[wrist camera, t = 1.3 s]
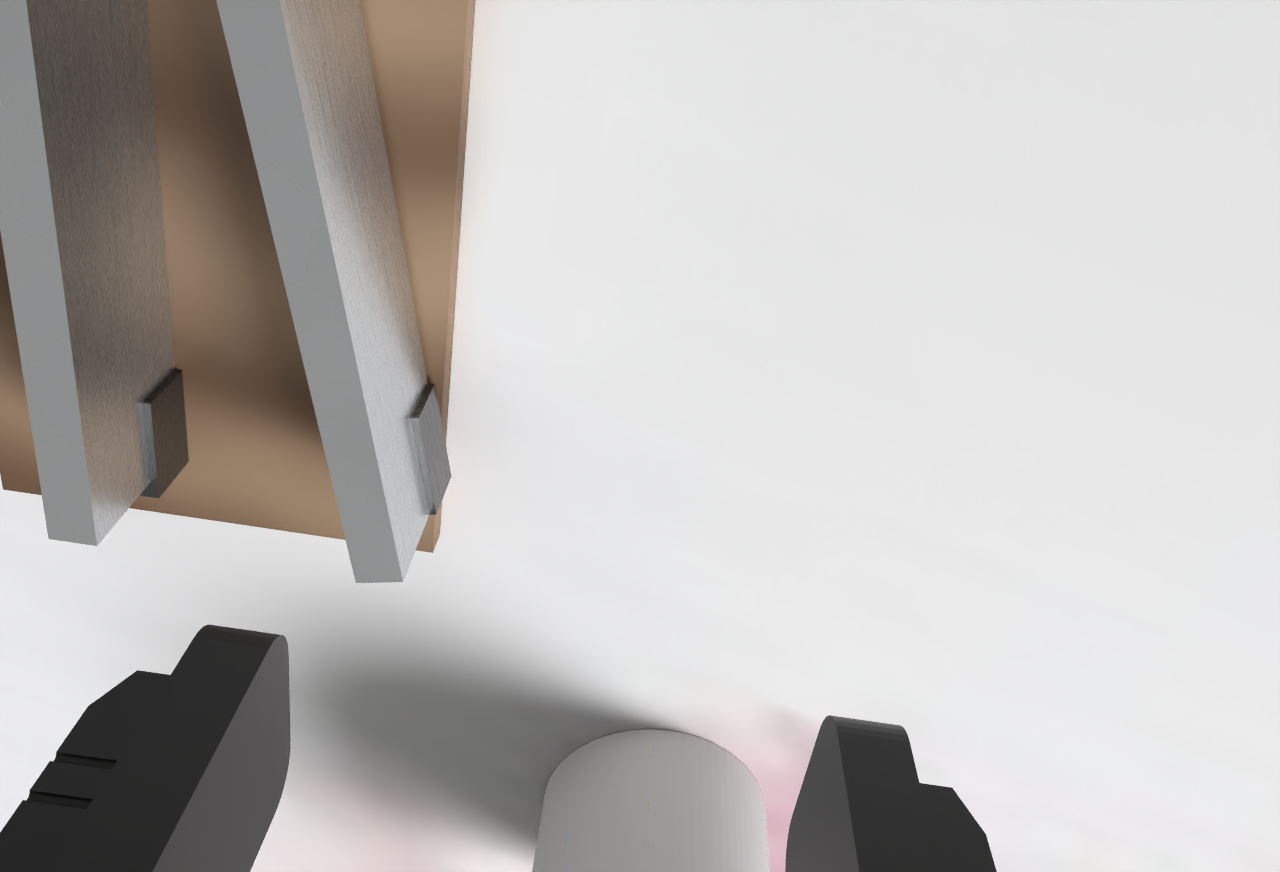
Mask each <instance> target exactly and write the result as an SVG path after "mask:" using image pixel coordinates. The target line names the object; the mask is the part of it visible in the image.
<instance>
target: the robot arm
mask: <svg viewBox="0 0 1280 872" xmlns="http://www.w3.org/2000/svg"><path fill="white" fill-rule="evenodd" d="M289 757H290V704H289V657H288V644H287V640H286V638H285V637H284V636H283V635H277V634H270V633H263V632H256V631H249V630H242V629H235V628H228V627H221V626H214V625H206V626H204V627H203V628H201V629H200V631H199V632H198V633H197V634H196V636H195V637H194V639H193V640H192V642H191V643H190V645H189V647H188V648H187V650H186V651H185V653H184V655H183V656H182V658H181V659H180V661H179V663H178V664H177V666H176V667H175V669H174V671H173V672H172V674H171V675H166V674H159V673H152V672H145V671H138V670H137V671H136V672H135V673H133V674H132V675H131V676H129V677H128V678H126V679H125V680H124V681H122V682H121V683H120V684H118V685H117V686H115V687H114V688H113V689H111V690H110V691H109V692H107V693H106V694H104V695H103V696H102V697H100V698H99V699H98V700H96V701H95V702H94V703H92V704H91V705H89V706H88V707H87V709H86V710H85V712H84V713H83V715H82V716H81V717H80V719H79V720H78V722H77V723H76V725H75V726H74V728H73V729H72V730H71V732H70V733H69V735H68V736H67V738H66V739H65V740H64V742H63V743H62V745H61V746H60V748H59V749H58V751H57V752H56V758H55V760H54V762H52V761H50V762H49V763H48V765H47V766H46V768H45V769H44V771H43V772H42V773H41V775H40V776H39V778H38V779H37V781H36V782H35V784H34V785H33V786H32V788H31V789H30V794H29V797H28V799H27V801H24V800H23V801H22V802H21V804H20V805H19V807H18V808H17V809H16V811H15V812H14V814H13V815H12V817H11V818H10V819H9V821H8V822H7V824H6V825H5V827H4V828H3V829H2V831H1V832H0V872H250V870H251V868H252V866H253V863H254V861H255V859H256V856H257V854H258V852H259V849H260V847H261V845H262V842H263V840H264V838H265V835H266V833H267V831H268V828H269V826H270V824H271V821H272V819H273V817H274V814H275V812H276V809H277V807H278V804H279V801H280V798H281V795H282V791H283V788H284V784H285V780H286V775H287V770H288V764H289ZM786 872H997V871H996V868H995V865H994V861H993V858H992V854H991V851H990V847H989V844H988V840H987V837H986V834H985V833H984V831H983V830H982V829H981V827H980V826H979V824H978V823H977V822H976V820H975V819H974V817H973V816H972V815H971V813H970V812H969V810H968V809H967V808H966V806H965V805H964V804H963V802H962V801H961V799H960V798H959V797H958V795H957V794H956V792H955V791H954V790H953V788H950V787H943V786H936V785H929V784H922V783H919V780H918V776H917V771H916V767H915V763H914V759H913V754H912V750H911V746H910V742H909V738H908V735H907V733H906V731H905V729H904V728H903V727H902V726H899V725H893V724H886V723H879V722H872V721H865V720H858V719H851V718H844V717H837V716H827V717H826V718H825V719H824V721H823V723H822V725H821V728H820V730H819V733H818V736H817V740H816V743H815V746H814V749H813V752H812V755H811V759H810V762H809V765H808V768H807V771H806V774H805V777H804V781H803V784H802V787H801V790H800V793H799V796H798V799H797V803H796V806H795V809H794V812H793V815H792V819H791V823H790V828H789V834H788V841H787V850H786Z"/></svg>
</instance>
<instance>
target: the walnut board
mask: <svg viewBox="0 0 1280 872" xmlns="http://www.w3.org/2000/svg"><path fill="white" fill-rule="evenodd" d="M359 1H360V6H361V12H362V17H363V23H364V29H365V34H366V40H367V46H368V51H369V57H370V62H371V68H372V74H373V79H374V85H375V90H376V96H377V102H378V107H379V113H380V118H381V124H382V130H383V135H384V141H385V146H386V152H387V158H388V163H389V169H390V175H391V180H392V186H393V191H394V197H395V203H396V208H397V214H398V219H399V225H400V231H401V236H402V242H403V247H404V253H405V259H406V264H407V270H408V275H409V281H410V287H411V292H412V298H413V304H414V309H415V315H416V320H417V326H418V332H419V337H420V343H421V348H422V354H423V360H424V365H425V371H426V376H427V382H428V384H435V387H436V392H437V398H438V404H439V410H440V415H441V421H442V427H443V433H444V438H445V444H446V432H447V417H448V402H449V387H450V372H451V357H452V342H453V327H454V312H455V297H456V282H457V267H458V252H459V237H460V222H461V207H462V192H463V177H464V162H465V147H466V132H467V117H468V102H469V87H470V72H471V56H472V41H473V26H474V11H475V0H359ZM147 13H148V25H149V38H150V51H151V64H152V77H153V90H154V103H155V116H156V129H157V142H158V155H159V168H160V181H161V194H162V207H163V220H164V233H165V246H166V259H167V272H168V285H169V297H170V310H171V323H172V336H173V349H174V362H175V370H181V371H182V374H183V388H184V401H185V415H186V429H187V442H188V456H189V462H188V463H187V464H186V466H185V467H184V468H183V469H182V471H181V472H180V473H179V474H178V476H177V477H176V478H175V479H174V481H173V482H172V483H171V484H170V486H169V487H168V488H167V489H166V490H165V492H164V493H163V494H162V495H161V497H160V498H153V497H146V496H138V498H137V499H136V500H135V501H134V502H133V504H132V505H131V506H130V507H129V508H133V509H140V510H147V511H154V512H160V513H167V514H174V515H181V516H188V517H194V518H201V519H208V520H215V521H222V522H228V523H235V524H242V525H249V526H255V527H262V528H269V529H276V530H283V531H289V532H296V533H303V534H310V535H317V536H323V537H330V538H337V539H344V540H346V539H345V535H344V531H343V527H342V523H341V518H340V514H339V510H338V506H337V502H336V498H335V493H334V489H333V485H332V481H331V477H330V473H329V468H328V464H327V460H326V456H325V452H324V448H323V443H322V439H321V435H320V431H319V427H318V423H317V418H316V414H315V410H314V406H313V402H312V398H311V393H310V389H309V385H308V381H307V377H306V372H305V368H304V364H303V360H302V356H301V352H300V347H299V343H298V339H297V335H296V331H295V327H294V322H293V318H292V314H291V310H290V306H289V302H288V297H287V293H286V289H285V285H284V281H283V277H282V272H281V268H280V264H279V260H278V256H277V252H276V247H275V243H274V239H273V235H272V231H271V227H270V222H269V218H268V214H267V210H266V206H265V202H264V197H263V193H262V189H261V185H260V181H259V176H258V172H257V168H256V164H255V160H254V156H253V151H252V147H251V143H250V139H249V135H248V131H247V126H246V122H245V118H244V114H243V110H242V106H241V101H240V97H239V93H238V89H237V85H236V81H235V76H234V72H233V68H232V64H231V60H230V56H229V51H228V47H227V43H226V39H225V35H224V31H223V26H222V22H221V18H220V14H219V10H218V6H217V1H216V0H147ZM0 474H1V480H2V485H3V489H4V490H11V491H18V492H24V493H31V494H38V495H42V493H41V486H40V480H39V474H38V467H37V461H36V455H35V448H34V442H33V435H32V429H31V423H30V416H29V410H28V404H27V397H26V391H25V384H24V378H23V372H22V365H21V359H20V353H19V346H18V340H17V333H16V327H15V321H14V314H13V308H12V302H11V295H10V289H9V283H8V276H7V270H6V263H5V257H4V251H3V244H2V238H1V232H0ZM441 507H442V501H441V504H440V507H439V509H438V512H437V515H429V517H428V519H427V522H426V525H425V527H424V530H423V532H422V535H421V537H420V540H419V542H418V545H417V548H416V550H419V551H425V552H432V553H433V551H434V548H435V545H436V543H437V540H438V537H439V535H440V522H441Z"/></svg>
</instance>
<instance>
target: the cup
mask: <svg viewBox="0 0 1280 872" xmlns="http://www.w3.org/2000/svg"><path fill="white" fill-rule="evenodd" d="M532 872H770V866H769V852H768V838H767V824H766V810H765V801H764V796H763V793H762V790H761V788H760V785H759V783H758V781H757V780H756V778H755V777H754V775H753V774H752V772H751V771H750V770H749V769H748V768H747V767H746V766H745V764H744V763H742V762H741V761H740V760H739V759H738V758H737V757H735V756H734V755H733V754H731V753H730V752H728V751H727V750H725V749H724V748H722V747H720V746H718V745H716V744H714V743H712V742H710V741H707V740H705V739H702V738H699V737H696V736H693V735H690V734H686V733H681V732H676V731H669V730H657V729H642V730H630V731H623V732H618V733H614V734H610V735H607V736H603V737H601V738H598V739H595V740H593V741H591V742H589V743H587V744H585V745H583V746H581V747H579V748H578V749H576V750H575V751H573V752H572V753H571V754H569V755H568V756H567V757H566V758H565V759H564V760H563V761H562V762H561V763H560V764H559V765H558V766H557V768H556V769H555V770H554V772H553V773H552V775H551V777H550V779H549V781H548V783H547V786H546V790H545V794H544V801H543V807H542V813H541V820H540V826H539V832H538V839H537V845H536V851H535V858H534V864H533V870H532Z"/></svg>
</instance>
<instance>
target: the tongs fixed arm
mask: <svg viewBox="0 0 1280 872" xmlns="http://www.w3.org/2000/svg"><path fill="white" fill-rule="evenodd" d="M0 232H1V238H2V244H3V251H4V257H5V263H6V270H7V276H8V283H9V289H10V295H11V302H12V308H13V314H14V321H15V327H16V333H17V340H18V346H19V353H20V359H21V365H22V372H23V378H24V384H25V391H26V397H27V404H28V410H29V416H30V423H31V429H32V435H33V442H34V448H35V455H36V461H37V467H38V474H39V480H40V486H41V493H42V499H43V506H44V512H45V518H46V525H47V531H48V537H49V539H53V540H60V541H67V542H74V543H81V544H88V545H95V546H97V545H98V544H99V543H100V542H101V541H102V539H103V538H104V537H105V536H106V535H107V533H108V532H109V531H110V530H111V529H112V527H113V526H114V525H115V524H116V523H117V521H118V520H119V519H120V518H121V517H122V515H123V514H124V513H125V512H126V511H127V510H128V508H129V507H130V506H131V505H132V504H133V502H134V501H135V500H136V499H137V498H138V496H146V497H153V498H160V497H161V495H162V494H163V493H164V492H165V490H166V489H167V488H168V487H169V486H170V484H171V483H172V482H173V481H174V479H175V478H176V477H177V476H178V474H179V473H180V472H181V471H182V469H183V468H184V467H185V466H186V464H187V463H188V462H189V456H188V442H187V429H186V415H185V401H184V388H183V374H182V371H181V370H175V362H174V349H173V336H172V323H171V310H170V297H169V285H168V272H167V259H166V246H165V233H164V220H163V207H162V194H161V181H160V168H159V155H158V142H157V129H156V116H155V103H154V90H153V77H152V64H151V51H150V38H149V25H148V13H147V0H0Z"/></svg>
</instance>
